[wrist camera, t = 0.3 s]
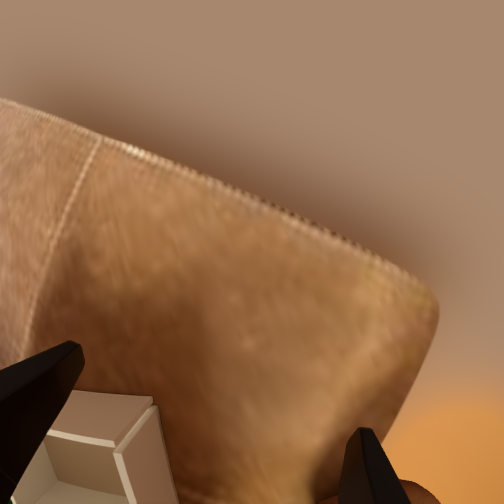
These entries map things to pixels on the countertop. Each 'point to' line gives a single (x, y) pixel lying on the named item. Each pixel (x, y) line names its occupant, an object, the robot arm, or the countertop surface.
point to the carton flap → (99, 417)
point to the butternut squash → (418, 496)
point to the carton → (101, 470)
